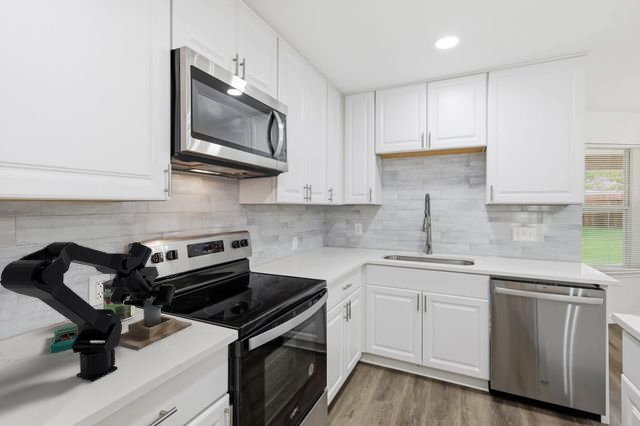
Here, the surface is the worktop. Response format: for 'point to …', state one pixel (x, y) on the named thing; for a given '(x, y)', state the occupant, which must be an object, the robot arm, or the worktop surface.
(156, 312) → the grey upright cylinder
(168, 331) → the dock
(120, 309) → the coffee can
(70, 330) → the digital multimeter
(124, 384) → the worktop surface
